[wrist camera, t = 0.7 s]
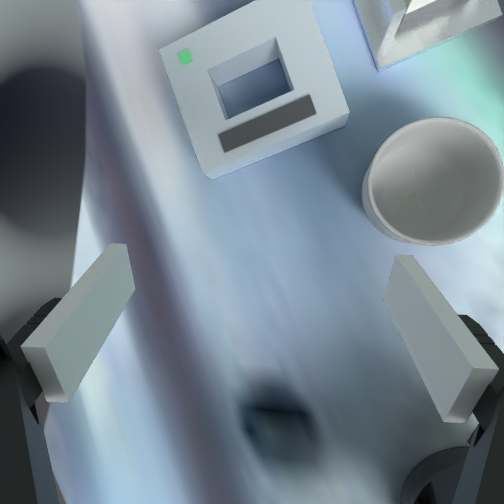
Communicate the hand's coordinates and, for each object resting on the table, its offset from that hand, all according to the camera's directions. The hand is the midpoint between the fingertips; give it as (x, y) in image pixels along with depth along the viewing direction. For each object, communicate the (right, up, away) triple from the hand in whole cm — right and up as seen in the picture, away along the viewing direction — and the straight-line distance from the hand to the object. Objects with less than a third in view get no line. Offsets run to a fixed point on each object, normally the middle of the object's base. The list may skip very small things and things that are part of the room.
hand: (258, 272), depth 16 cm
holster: (+17, +27, +17) cm, 36 cm away
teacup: (+18, +7, +18) cm, 27 cm away
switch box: (0, +19, +21) cm, 28 cm away
